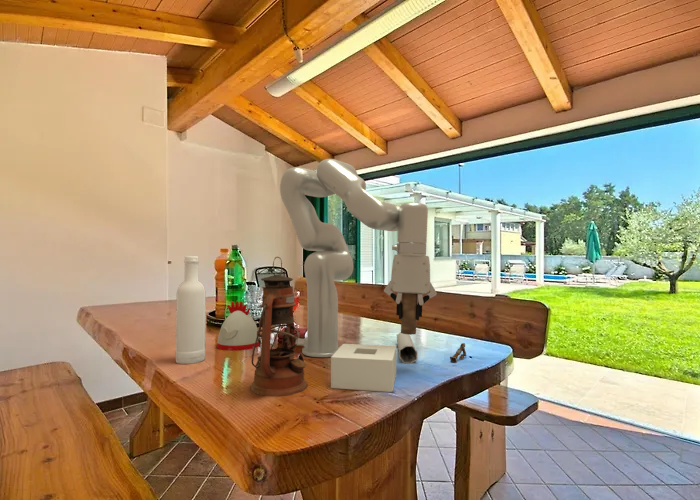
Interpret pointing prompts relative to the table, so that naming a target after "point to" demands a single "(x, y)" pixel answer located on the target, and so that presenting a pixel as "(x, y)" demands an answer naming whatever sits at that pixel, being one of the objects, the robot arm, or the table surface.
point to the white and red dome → (238, 330)
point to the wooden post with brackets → (459, 353)
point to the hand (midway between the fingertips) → (409, 318)
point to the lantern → (278, 364)
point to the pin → (409, 313)
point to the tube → (406, 348)
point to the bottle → (190, 316)
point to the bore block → (364, 367)
